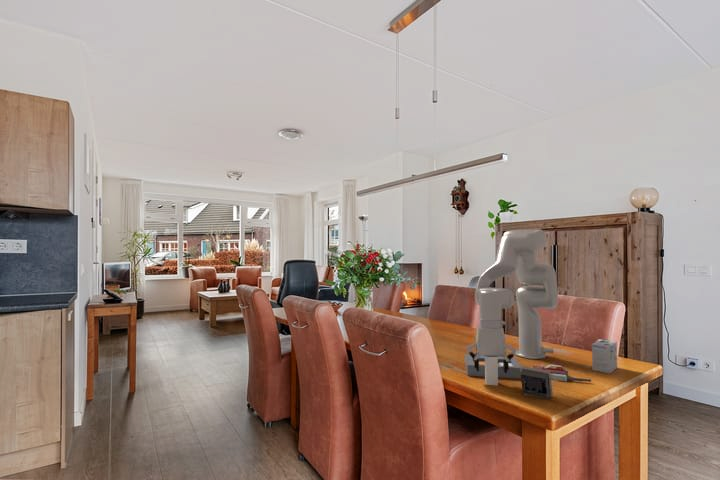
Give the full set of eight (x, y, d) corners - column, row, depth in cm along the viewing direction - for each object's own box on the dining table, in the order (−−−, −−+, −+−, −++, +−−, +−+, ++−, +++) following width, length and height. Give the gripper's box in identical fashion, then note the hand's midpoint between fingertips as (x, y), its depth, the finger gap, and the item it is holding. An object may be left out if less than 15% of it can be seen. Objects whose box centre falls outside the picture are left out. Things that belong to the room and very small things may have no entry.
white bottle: (496, 381, 139) (495, 348, 139) (498, 385, 135) (497, 351, 135) (485, 380, 140) (484, 348, 140) (486, 384, 136) (485, 351, 136)
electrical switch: (553, 396, 124) (551, 369, 123) (549, 403, 120) (548, 374, 119) (523, 390, 130) (522, 364, 129) (519, 396, 126) (517, 369, 125)
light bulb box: (599, 364, 159) (598, 338, 159) (618, 367, 154) (617, 341, 154) (591, 370, 151) (591, 343, 151) (611, 373, 146) (610, 346, 147)
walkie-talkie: (530, 379, 142) (592, 385, 135) (530, 367, 142) (591, 373, 135) (529, 372, 150) (587, 377, 143) (529, 361, 151) (587, 366, 143)
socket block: (514, 366, 157) (514, 355, 157) (522, 378, 141) (522, 367, 142) (465, 363, 161) (464, 353, 161) (467, 375, 146) (467, 364, 146)
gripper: (513, 322, 140) (514, 369, 139) (465, 321, 143) (466, 366, 143) (517, 326, 132) (518, 376, 132) (466, 325, 136) (467, 373, 135)
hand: (491, 371), depth 137 cm, fingers open, 9 cm apart
